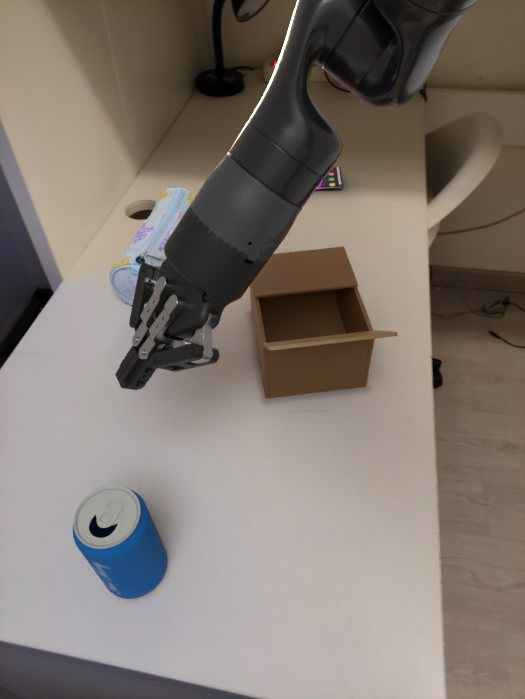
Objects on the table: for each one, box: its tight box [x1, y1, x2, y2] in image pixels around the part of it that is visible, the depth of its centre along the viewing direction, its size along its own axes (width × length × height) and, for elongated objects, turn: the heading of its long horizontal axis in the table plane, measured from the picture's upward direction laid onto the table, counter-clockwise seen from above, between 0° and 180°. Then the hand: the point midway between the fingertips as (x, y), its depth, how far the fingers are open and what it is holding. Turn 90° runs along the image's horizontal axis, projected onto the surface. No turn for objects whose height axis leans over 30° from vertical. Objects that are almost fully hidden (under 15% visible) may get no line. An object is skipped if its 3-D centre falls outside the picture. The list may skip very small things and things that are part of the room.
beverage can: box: [72, 484, 168, 600], centre depth 50 cm, size 6×6×12 cm
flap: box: [263, 329, 399, 351], centre depth 57 cm, size 8×13×1 cm
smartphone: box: [315, 166, 344, 191], centre depth 102 cm, size 7×15×1 cm, turn 89°
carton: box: [249, 246, 375, 400], centre depth 70 cm, size 16×13×10 cm
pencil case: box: [109, 187, 196, 308], centre depth 82 cm, size 21×9×10 cm, turn 166°
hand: (126, 383), depth 49 cm, fingers closed
